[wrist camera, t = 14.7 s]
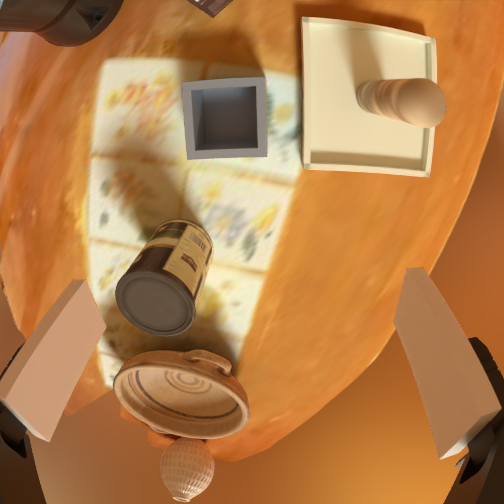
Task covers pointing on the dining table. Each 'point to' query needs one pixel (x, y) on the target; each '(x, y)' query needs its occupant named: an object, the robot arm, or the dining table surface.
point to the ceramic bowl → (183, 393)
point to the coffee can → (166, 279)
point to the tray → (345, 104)
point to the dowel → (404, 100)
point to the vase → (187, 468)
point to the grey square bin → (226, 118)
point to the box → (210, 6)
